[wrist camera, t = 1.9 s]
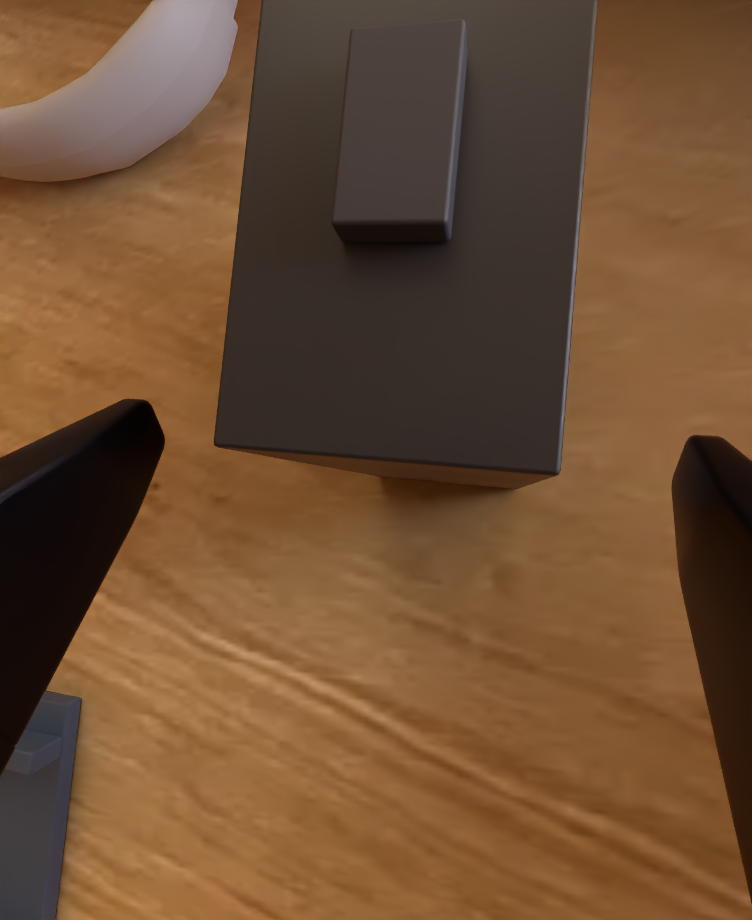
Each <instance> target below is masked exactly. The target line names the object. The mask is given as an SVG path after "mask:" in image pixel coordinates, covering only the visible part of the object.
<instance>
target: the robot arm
mask: <svg viewBox="0 0 752 920" xmlns="http://www.w3.org/2000/svg"><path fill="white" fill-rule="evenodd" d="M164 445H165V437H164V433H163V431H162V428H161V426H160V424H159V421H158V419H157V417H156V414H155V412H154V409H153V407H152V405H151V404H150V403H149V402H148V401H146V400H141V399H123V400H121V401H119V402H117V403H115V404H113V405H111V406H108V407H106V408H104V409H102V410H100V411H98V412H96V413H94V414H92V415H89V416H87V417H85V418H83V419H81V420H79V421H77V422H75V423H73V424H71V425H68V426H66V427H64V428H62V429H60V430H58V431H56V432H54V433H52V434H49V435H47V436H45V437H43V438H41V439H39V440H37V441H35V442H33V443H31V444H28V445H26V446H24V447H22V448H20V449H18V450H16V451H14V452H12V453H9V454H7V455H5V456H3V457H1V458H0V777H1V775H2V773H3V771H4V769H5V767H6V765H7V763H8V762H9V760H10V758H11V756H12V754H13V752H14V750H15V746H14V745H17V744H18V742H19V740H20V738H21V736H22V734H23V732H24V730H25V728H26V727H27V725H28V723H29V721H30V719H31V717H32V715H33V713H34V711H35V709H36V708H37V706H38V704H39V702H40V700H41V698H42V696H43V694H44V692H45V690H46V689H47V687H48V685H49V683H50V681H51V679H52V677H53V675H54V673H55V671H56V669H57V668H58V666H59V664H60V662H61V660H62V658H63V656H64V654H65V652H66V650H67V649H68V647H69V645H70V643H71V641H72V639H73V637H74V635H75V633H76V631H77V630H78V628H79V626H80V624H81V622H82V620H83V618H84V616H85V614H86V612H87V611H88V609H89V607H90V605H91V603H92V601H93V599H94V597H95V595H96V593H97V591H98V590H99V588H100V586H101V584H102V582H103V580H104V578H105V576H106V574H107V572H108V571H109V569H110V567H111V565H112V563H113V561H114V559H115V557H116V555H117V553H118V552H119V550H120V548H121V546H122V544H123V542H124V540H125V538H126V536H127V534H128V533H129V531H130V529H131V527H132V525H133V523H134V521H135V519H136V517H137V514H138V512H139V510H140V507H141V505H142V503H143V500H144V498H145V495H146V492H147V490H148V487H149V485H150V482H151V480H152V477H153V475H154V472H155V470H156V467H157V465H158V462H159V460H160V457H161V454H162V452H163V449H164ZM672 501H673V512H674V524H675V536H676V548H677V560H678V570H679V578H680V583H681V589H682V594H683V598H684V603H685V607H686V612H687V616H688V621H689V625H690V629H691V634H692V638H693V643H694V647H695V652H696V656H697V661H698V665H699V670H700V674H701V679H702V683H703V688H704V692H705V697H706V701H707V706H708V710H709V715H710V719H711V724H712V728H713V733H714V737H715V742H716V746H717V751H718V755H719V760H720V764H721V769H722V773H723V778H724V782H725V787H726V791H727V796H728V800H729V805H730V809H731V814H732V818H733V823H734V827H735V831H736V836H737V840H738V845H739V849H740V854H741V858H742V863H743V867H744V872H745V876H746V881H747V885H748V890H749V894H750V899H751V903H752V461H751V460H750V459H748V458H747V457H746V456H745V455H744V454H742V453H741V452H740V451H739V450H737V449H736V448H735V447H734V446H732V445H731V444H730V443H729V442H727V441H726V440H725V439H723V438H721V437H718V436H703V435H693V436H691V437H689V438H688V440H687V441H686V443H685V446H684V448H683V451H682V454H681V456H680V459H679V462H678V464H677V467H676V470H675V472H674V475H673V479H672Z"/></svg>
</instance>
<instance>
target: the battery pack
mask: <svg viewBox="0 0 752 920" xmlns="http://www.w3.org/2000/svg"><path fill="white" fill-rule="evenodd" d="M597 7H598V0H262V3H261V13H260V22H259V31H258V40H257V49H256V58H255V68H254V77H253V86H252V95H251V104H250V114H249V123H248V132H247V141H246V150H245V159H244V169H243V178H242V187H241V196H240V205H239V214H238V224H237V233H236V242H235V251H234V260H233V269H232V279H231V288H230V297H229V306H228V315H227V325H226V334H225V343H224V352H223V361H222V370H221V380H220V389H219V398H218V407H217V416H216V425H215V435H214V445H215V446H216V447H219V448H224V449H230V450H235V451H241V452H246V453H252V454H257V455H263V456H268V457H274V458H279V459H285V460H291V461H296V462H302V463H307V464H313V465H318V466H324V467H329V468H335V469H340V470H346V471H351V472H357V473H363V474H368V475H374V476H379V477H389V478H400V479H411V480H422V481H433V482H444V483H455V484H466V485H477V486H488V487H499V488H510V489H518V488H521V487H524V486H527V485H530V484H533V483H536V482H539V481H542V480H545V479H548V478H551V477H554V476H557V475H559V473H560V471H561V458H562V446H563V433H564V421H565V408H566V396H567V383H568V371H569V358H570V345H571V333H572V320H573V308H574V295H575V283H576V270H577V258H578V245H579V233H580V220H581V207H582V195H583V182H584V170H585V157H586V145H587V132H588V120H589V107H590V94H591V82H592V69H593V57H594V44H595V32H596V19H597Z"/></svg>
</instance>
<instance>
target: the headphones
mask: <svg viewBox="0 0 752 920" xmlns="http://www.w3.org/2000/svg"><path fill="white" fill-rule="evenodd" d="M237 2H238V0H153V1H152V2H151V3H150V4H149V5H148V7H147V8H146V9H145V10H144V12H143V13H142V14H141V15H140V16H139V18H138V19H137V20H136V21H135V22H134V24H133V25H132V26H131V27H130V28H129V29H128V30H127V31H126V32H125V33H124V35H123V36H122V37H121V38H120V39H119V40H118V41H117V42H116V43H115V44H114V45H113V47H112V48H111V49H110V50H109V51H108V52H107V53H106V54H105V55H104V56H103V57H102V58H101V59H100V60H99V61H98V62H97V63H96V64H95V65H94V66H93V67H92V68H91V69H90V70H89V71H88V72H87V73H86V74H84V75H82V76H81V77H79V78H77V79H75V80H74V81H72V82H70V83H69V84H67V85H65V86H63V87H62V88H60V89H58V90H56V91H54V92H52V93H50V94H49V95H47V96H45V97H43V98H41V99H39V100H37V101H34V102H30V103H25V104H21V105H17V106H12V107H7V108H1V109H0V176H3V177H8V178H12V179H17V180H24V181H39V182H53V181H64V180H74V179H81V178H85V177H89V176H93V175H96V174H100V173H105V172H109V171H114V170H118V169H123V168H127V167H130V166H131V165H133V164H134V163H136V162H137V161H139V160H140V159H141V158H143V157H144V156H146V155H147V154H149V153H150V152H152V151H153V150H155V149H156V148H158V147H159V146H161V145H162V144H164V143H165V142H167V141H168V140H170V139H171V138H173V137H174V136H176V135H177V134H178V133H180V132H181V131H183V130H184V129H185V128H186V127H187V126H188V125H189V124H190V123H191V122H192V120H193V119H194V118H195V117H196V116H197V115H198V114H199V113H200V112H201V111H202V110H203V109H204V108H205V107H206V106H207V105H208V103H209V102H210V100H211V98H212V97H213V95H214V93H215V92H216V90H217V89H218V87H219V85H220V84H221V82H222V81H223V79H224V77H225V76H226V74H227V70H228V66H229V62H230V58H231V54H232V50H233V46H234V42H235V38H236V34H237V30H238V26H237V23H236V21H235V19H234V14H235V10H236V6H237Z"/></svg>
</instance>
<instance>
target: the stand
mask: <svg viewBox="0 0 752 920" xmlns="http://www.w3.org/2000/svg"><path fill="white" fill-rule="evenodd" d="M80 706H81V698H78V697H73V696H68V695H63V694H58V693H53V692H48V691H45V692H44V694H43V696H42V698H41V700H40V702H39V704H38V706H37V708H36V709H35V711H34V713H33V715H32V717H31V719H30V721H29V723H28V725H27V727H26V728H25V730H24V732H23V734H22V736H21V738H20V740H19V742H18V744H17V745H14V746H15V750H14V752H13V754H12V756H11V758H10V760H9V762H8V763H7V765H6V767H5V769H4V771H3V773H2V775H1V777H0V920H55V918H56V910H57V901H58V893H59V884H60V876H61V867H62V859H63V850H64V842H65V833H66V825H67V816H68V808H69V799H70V791H71V782H72V774H73V765H74V757H75V748H76V740H77V731H78V723H79V714H80Z"/></svg>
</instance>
